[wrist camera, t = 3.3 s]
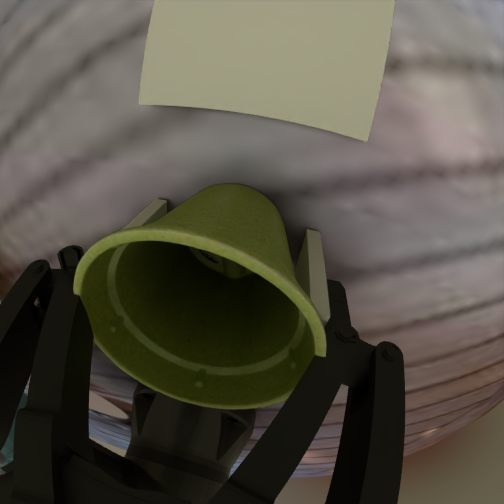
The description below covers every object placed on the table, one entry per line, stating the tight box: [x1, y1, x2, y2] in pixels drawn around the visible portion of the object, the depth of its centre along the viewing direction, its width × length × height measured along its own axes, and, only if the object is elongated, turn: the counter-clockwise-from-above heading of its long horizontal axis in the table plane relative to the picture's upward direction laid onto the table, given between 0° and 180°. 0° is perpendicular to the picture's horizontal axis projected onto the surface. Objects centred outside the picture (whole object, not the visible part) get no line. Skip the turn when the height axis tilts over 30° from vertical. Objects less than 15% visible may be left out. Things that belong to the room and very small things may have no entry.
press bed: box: [139, 0, 395, 142], centre depth 8 cm, size 12×11×2 cm
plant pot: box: [73, 184, 326, 409], centre depth 13 cm, size 9×9×9 cm
